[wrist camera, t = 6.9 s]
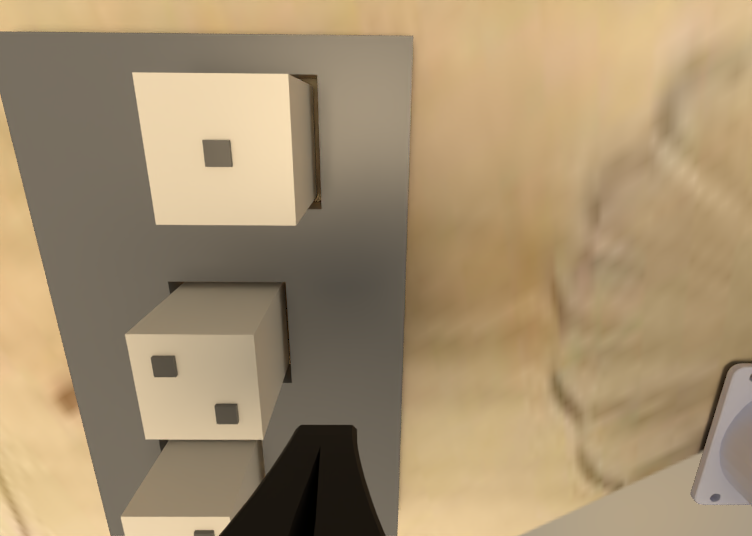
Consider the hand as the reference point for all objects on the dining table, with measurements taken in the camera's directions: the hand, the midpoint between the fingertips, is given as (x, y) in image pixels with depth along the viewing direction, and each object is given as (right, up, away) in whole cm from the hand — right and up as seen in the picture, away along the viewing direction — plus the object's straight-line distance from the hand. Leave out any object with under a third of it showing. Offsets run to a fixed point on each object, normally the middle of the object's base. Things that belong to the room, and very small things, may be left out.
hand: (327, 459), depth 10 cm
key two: (-5, +2, +9) cm, 10 cm away
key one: (-3, +9, +6) cm, 12 cm away
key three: (-6, -5, +11) cm, 14 cm away
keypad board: (-5, +2, +9) cm, 10 cm away
